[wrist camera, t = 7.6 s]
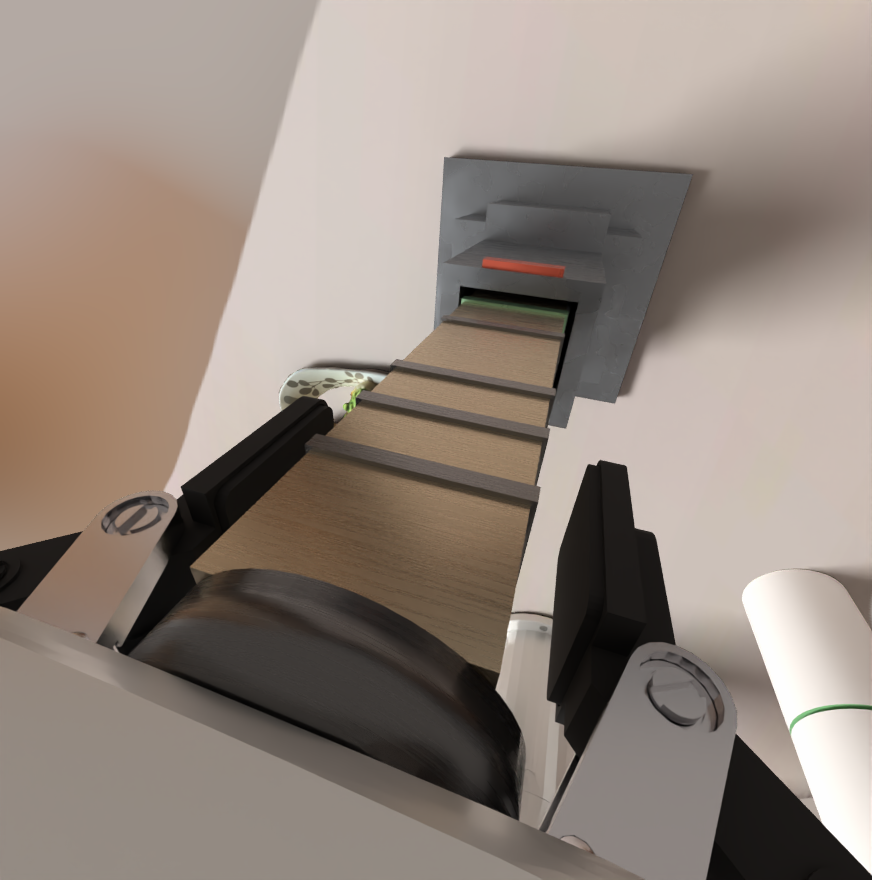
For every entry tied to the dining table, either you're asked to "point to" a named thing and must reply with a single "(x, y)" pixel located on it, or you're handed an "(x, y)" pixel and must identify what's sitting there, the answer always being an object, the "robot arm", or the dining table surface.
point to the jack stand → (561, 255)
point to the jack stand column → (392, 561)
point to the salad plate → (328, 383)
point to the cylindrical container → (822, 692)
